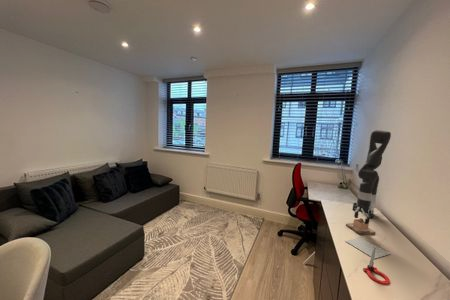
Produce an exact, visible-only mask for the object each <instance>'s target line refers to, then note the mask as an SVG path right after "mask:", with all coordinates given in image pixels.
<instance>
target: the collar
mask: <svg viewBox="0 0 450 300" xmlns="http://www.w3.org/2000/svg"><path fill="white" fill-rule="evenodd" d="M359 219H360V218H355V219H353V226H355V227H356V228H358V229H360V230H368V228H369V226H370V223H369V224H365V220H364V221H363V223H360V222H359Z"/></svg>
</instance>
